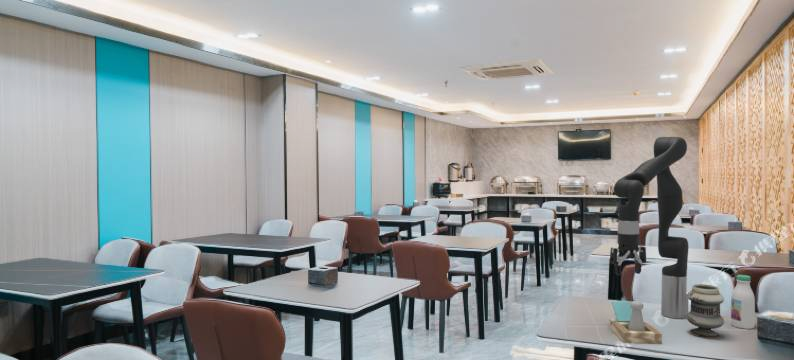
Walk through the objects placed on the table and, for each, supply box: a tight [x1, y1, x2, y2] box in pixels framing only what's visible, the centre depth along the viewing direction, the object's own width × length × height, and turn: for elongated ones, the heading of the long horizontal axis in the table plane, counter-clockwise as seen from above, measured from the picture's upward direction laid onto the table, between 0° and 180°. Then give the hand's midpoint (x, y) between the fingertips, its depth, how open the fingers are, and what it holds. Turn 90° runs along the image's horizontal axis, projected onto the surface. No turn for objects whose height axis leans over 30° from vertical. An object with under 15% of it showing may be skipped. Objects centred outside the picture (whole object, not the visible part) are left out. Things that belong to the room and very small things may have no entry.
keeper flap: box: [611, 300, 632, 322], centre depth 202 cm, size 8×9×1 cm
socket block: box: [609, 318, 663, 345], centre depth 195 cm, size 13×22×4 cm, turn 175°
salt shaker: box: [628, 300, 645, 331], centre depth 191 cm, size 6×6×13 cm
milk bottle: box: [730, 274, 756, 330], centre depth 204 cm, size 8×8×20 cm
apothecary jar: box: [686, 283, 725, 339], centre depth 194 cm, size 12×12×18 cm
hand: (628, 274), depth 199 cm, fingers open, 8 cm apart
